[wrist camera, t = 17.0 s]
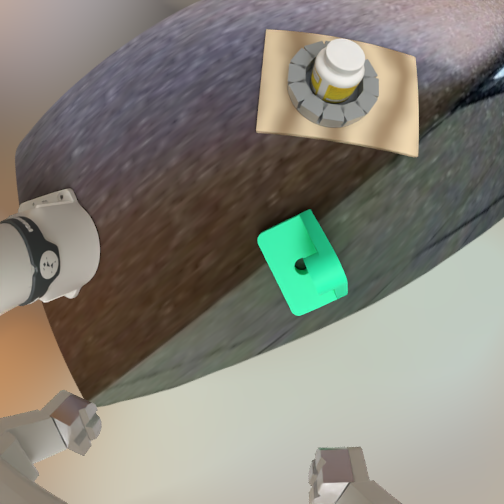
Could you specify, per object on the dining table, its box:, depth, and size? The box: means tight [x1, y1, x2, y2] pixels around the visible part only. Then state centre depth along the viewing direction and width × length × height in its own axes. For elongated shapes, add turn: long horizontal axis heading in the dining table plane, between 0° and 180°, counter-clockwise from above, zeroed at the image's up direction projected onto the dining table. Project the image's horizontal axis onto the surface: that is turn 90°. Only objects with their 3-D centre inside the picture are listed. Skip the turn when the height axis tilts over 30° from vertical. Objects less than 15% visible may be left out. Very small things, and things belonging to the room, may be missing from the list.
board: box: [256, 29, 419, 157], centre depth 32 cm, size 22×16×1 cm
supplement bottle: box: [310, 38, 365, 105], centre depth 26 cm, size 5×5×10 cm
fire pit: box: [287, 41, 379, 128], centre depth 30 cm, size 11×11×4 cm
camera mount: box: [258, 209, 348, 316], centre depth 33 cm, size 12×8×10 cm, turn 27°
